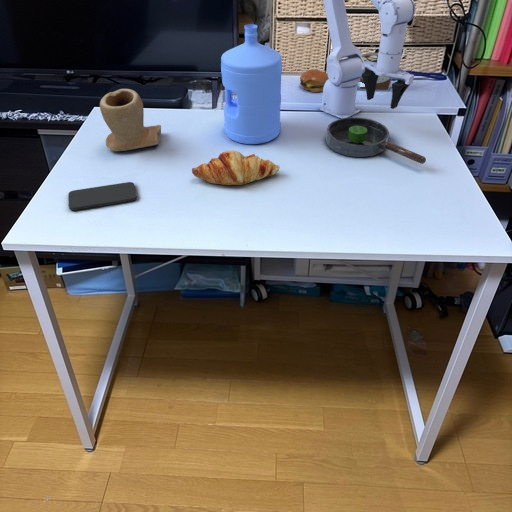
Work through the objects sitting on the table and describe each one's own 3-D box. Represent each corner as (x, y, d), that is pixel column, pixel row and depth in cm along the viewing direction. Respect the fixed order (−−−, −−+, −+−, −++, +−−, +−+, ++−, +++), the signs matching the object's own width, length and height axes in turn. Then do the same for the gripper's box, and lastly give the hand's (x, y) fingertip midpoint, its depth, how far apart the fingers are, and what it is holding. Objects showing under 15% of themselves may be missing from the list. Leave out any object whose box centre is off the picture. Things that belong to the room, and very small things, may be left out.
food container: (391, 83, 163) (396, 52, 157) (393, 91, 159) (398, 59, 152) (353, 82, 164) (357, 51, 158) (354, 89, 160) (358, 58, 153)
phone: (137, 197, 113) (68, 208, 110) (137, 200, 113) (69, 211, 110) (133, 181, 118) (68, 190, 115) (134, 184, 119) (69, 193, 115)
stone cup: (107, 160, 127) (94, 104, 117) (106, 138, 136) (94, 85, 126) (166, 152, 130) (158, 98, 120) (161, 132, 139) (154, 79, 129)
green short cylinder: (343, 141, 133) (345, 128, 131) (355, 135, 136) (356, 122, 133) (357, 148, 130) (359, 134, 128) (369, 142, 133) (371, 128, 130)
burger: (326, 80, 166) (327, 66, 163) (332, 92, 159) (333, 77, 156) (297, 82, 165) (297, 68, 162) (301, 93, 158) (302, 79, 155)
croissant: (276, 179, 126) (275, 147, 124) (284, 182, 116) (282, 148, 114) (193, 185, 123) (190, 152, 122) (193, 188, 114) (190, 153, 112)
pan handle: (379, 148, 127) (380, 141, 126) (384, 145, 128) (385, 138, 127) (421, 166, 120) (423, 159, 119) (426, 163, 121) (428, 156, 120)
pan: (313, 142, 134) (314, 130, 131) (351, 123, 142) (353, 112, 140) (361, 164, 125) (363, 152, 122) (399, 143, 133) (401, 131, 131)
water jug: (283, 121, 143) (287, 18, 125) (275, 147, 131) (278, 38, 113) (231, 117, 145) (226, 15, 127) (218, 143, 134) (211, 34, 115)
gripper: (357, 47, 125) (350, 99, 134) (406, 62, 117) (396, 116, 126) (373, 41, 129) (366, 91, 138) (422, 55, 121) (411, 107, 130)
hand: (381, 103), depth 132 cm, fingers open, 7 cm apart
